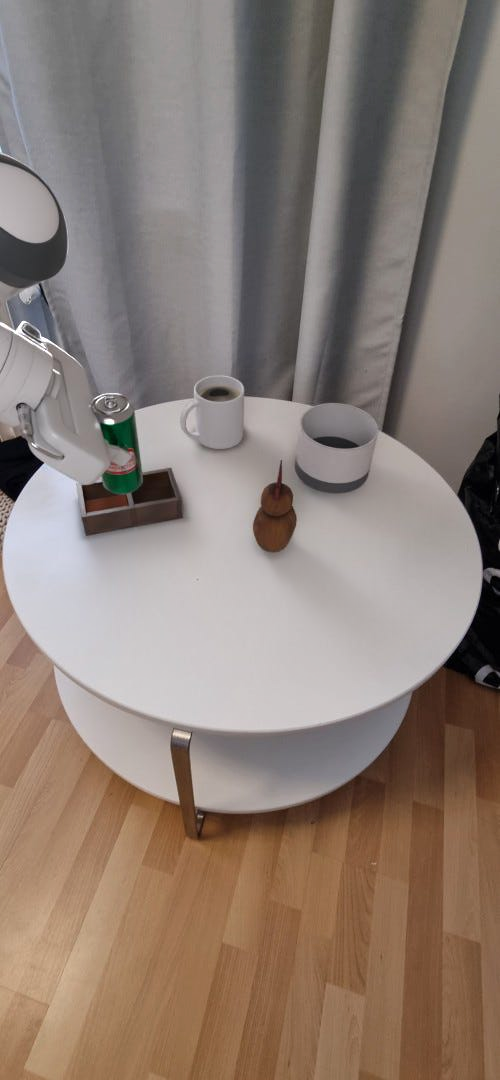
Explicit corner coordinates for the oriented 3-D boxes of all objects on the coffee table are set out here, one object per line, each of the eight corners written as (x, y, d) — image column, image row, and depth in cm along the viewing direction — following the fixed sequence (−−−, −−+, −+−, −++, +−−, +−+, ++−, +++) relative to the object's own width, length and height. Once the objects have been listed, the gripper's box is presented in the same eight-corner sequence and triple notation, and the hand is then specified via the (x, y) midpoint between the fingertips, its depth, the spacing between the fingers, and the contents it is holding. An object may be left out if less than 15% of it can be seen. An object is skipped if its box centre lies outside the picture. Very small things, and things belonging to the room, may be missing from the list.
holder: (85, 536, 91) (81, 517, 88) (80, 501, 96) (76, 482, 93) (183, 518, 94) (181, 499, 91) (172, 485, 100) (171, 467, 97)
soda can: (103, 499, 72) (87, 418, 64) (102, 472, 76) (87, 392, 67) (144, 495, 73) (134, 415, 64) (142, 469, 76) (132, 389, 68)
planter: (381, 487, 101) (394, 438, 94) (317, 507, 97) (325, 458, 89) (342, 444, 109) (351, 396, 101) (281, 462, 105) (285, 413, 97)
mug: (245, 423, 113) (247, 377, 105) (239, 453, 106) (241, 407, 99) (189, 418, 113) (187, 371, 106) (180, 448, 107) (177, 401, 99)
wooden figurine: (267, 522, 94) (273, 448, 83) (299, 537, 92) (309, 462, 81) (245, 549, 90) (248, 474, 79) (278, 564, 88) (286, 490, 77)
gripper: (41, 417, 53) (157, 479, 62) (24, 313, 66) (122, 378, 75) (3, 464, 55) (120, 517, 64) (-6, 355, 68) (92, 412, 77)
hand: (121, 441), depth 70 cm, fingers closed on soda can, 5 cm apart
